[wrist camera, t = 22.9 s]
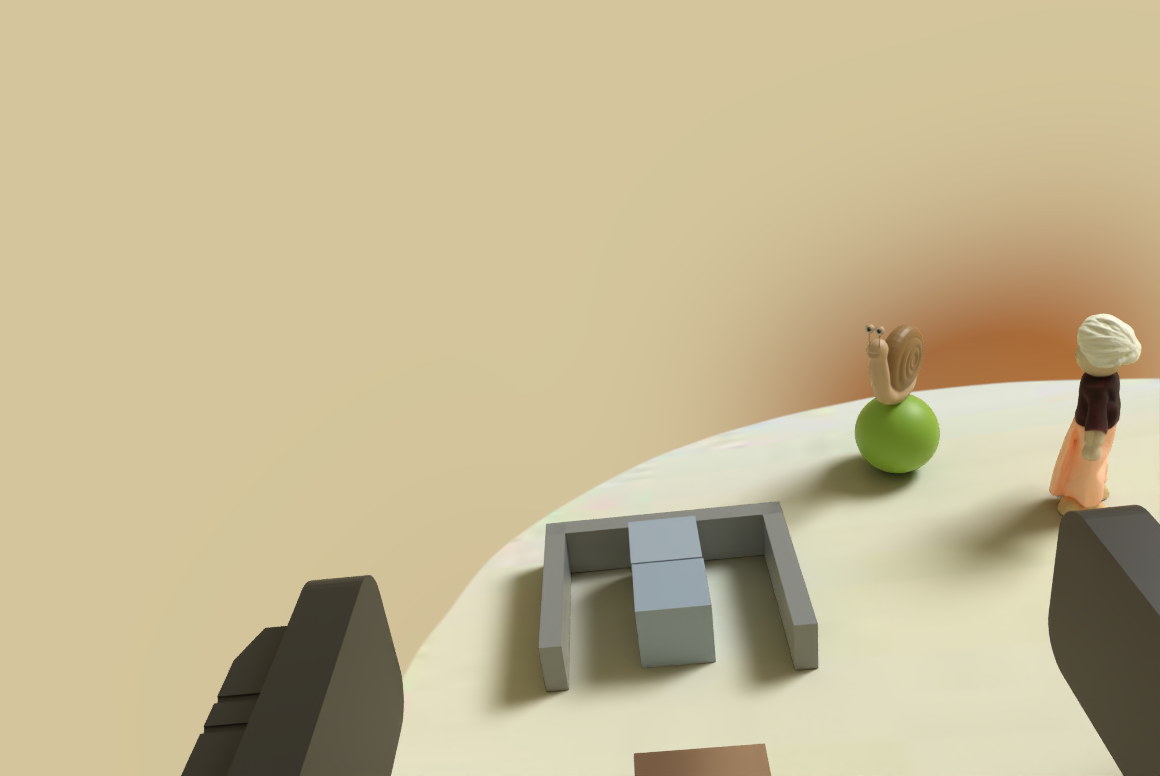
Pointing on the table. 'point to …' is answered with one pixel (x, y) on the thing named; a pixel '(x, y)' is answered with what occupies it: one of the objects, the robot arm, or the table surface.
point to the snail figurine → (896, 405)
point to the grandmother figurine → (1093, 413)
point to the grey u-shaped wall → (719, 539)
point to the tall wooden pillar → (705, 762)
